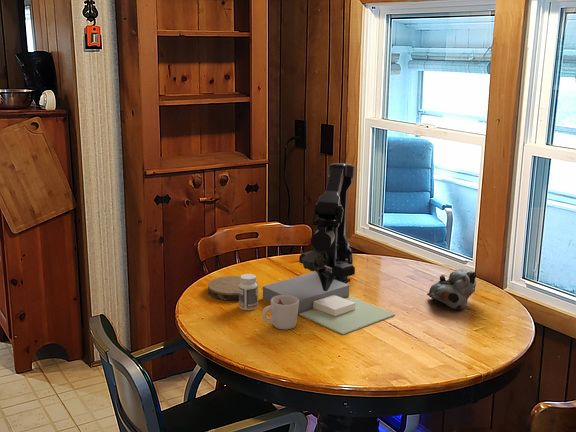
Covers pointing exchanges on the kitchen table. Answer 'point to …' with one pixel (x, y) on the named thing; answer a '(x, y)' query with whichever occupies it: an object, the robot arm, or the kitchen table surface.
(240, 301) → the pill bottle
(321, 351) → the kitchen table surface
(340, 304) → the ceramic tile
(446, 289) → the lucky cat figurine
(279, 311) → the cup
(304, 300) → the gray rectangular block
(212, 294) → the grey brown round disc
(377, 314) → the rubber mat
